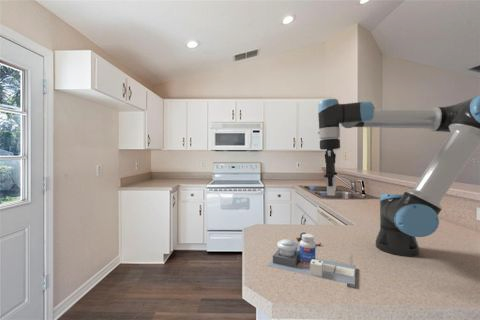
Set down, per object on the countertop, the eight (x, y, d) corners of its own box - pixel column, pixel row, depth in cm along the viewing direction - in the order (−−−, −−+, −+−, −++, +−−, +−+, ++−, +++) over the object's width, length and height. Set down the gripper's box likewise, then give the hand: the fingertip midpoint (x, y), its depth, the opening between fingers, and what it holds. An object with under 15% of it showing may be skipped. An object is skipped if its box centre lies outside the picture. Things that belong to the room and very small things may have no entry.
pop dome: (299, 254, 86) (299, 240, 86) (294, 261, 80) (294, 246, 80) (280, 251, 89) (280, 237, 89) (274, 257, 83) (274, 242, 83)
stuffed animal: (326, 246, 99) (306, 232, 96) (315, 267, 97) (294, 253, 94) (310, 237, 110) (291, 224, 107) (299, 256, 108) (280, 243, 105)
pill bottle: (302, 267, 78) (302, 238, 79) (297, 260, 84) (297, 233, 84) (318, 266, 79) (318, 237, 79) (311, 260, 84) (311, 232, 84)
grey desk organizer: (355, 268, 80) (355, 254, 80) (354, 288, 68) (354, 271, 68) (279, 254, 93) (279, 242, 93) (267, 268, 80) (267, 255, 80)
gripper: (322, 142, 106) (324, 189, 105) (316, 137, 83) (318, 197, 82) (340, 140, 103) (342, 189, 102) (339, 135, 80) (341, 197, 79)
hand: (331, 192), depth 92 cm, fingers open, 13 cm apart
